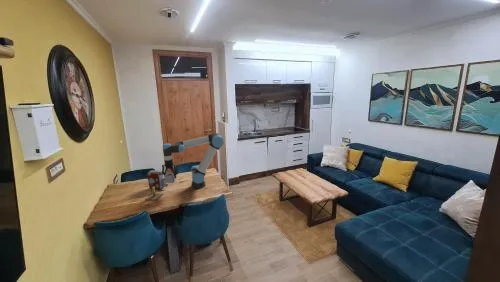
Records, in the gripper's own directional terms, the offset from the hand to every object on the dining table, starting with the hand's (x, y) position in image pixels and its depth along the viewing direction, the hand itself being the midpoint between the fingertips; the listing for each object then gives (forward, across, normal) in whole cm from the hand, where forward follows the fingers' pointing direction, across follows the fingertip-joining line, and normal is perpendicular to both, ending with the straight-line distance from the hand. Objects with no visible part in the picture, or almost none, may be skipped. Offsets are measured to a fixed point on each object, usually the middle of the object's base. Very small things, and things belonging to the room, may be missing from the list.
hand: (170, 180), depth 215 cm
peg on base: (+15, +16, +6) cm, 23 cm away
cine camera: (+15, +21, -13) cm, 29 cm away
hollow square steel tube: (0, 0, 0) cm, 0 cm away
